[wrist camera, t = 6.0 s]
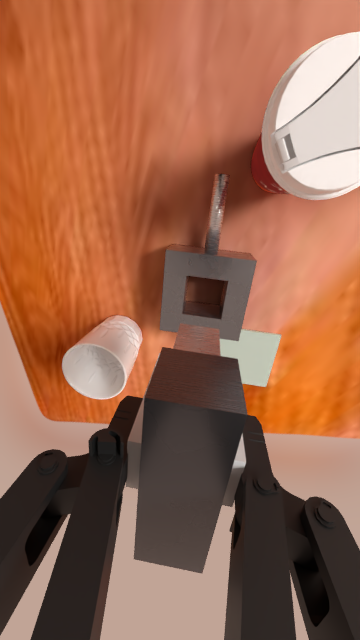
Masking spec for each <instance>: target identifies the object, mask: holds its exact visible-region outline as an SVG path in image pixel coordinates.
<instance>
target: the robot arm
mask: <svg viewBox="0 0 360 640" xmlns="http://www.w3.org/2000/svg"><path fill="white" fill-rule="evenodd" d="M159 356H160V354H159ZM159 356H158V358H159ZM157 361H158V359H157ZM156 364H157V362H156ZM156 364H155V367H156ZM155 367H154V369H155ZM153 372H154V370H153ZM152 375H153V373H152ZM152 375H151V378H152ZM151 378H150V381H151ZM150 381H149V383H150ZM148 386H149V384H148ZM148 386H147V389H148ZM147 389H146V392H147ZM146 392H145V394H146ZM145 394H144V397H145ZM144 397H143V398H139V397H133V396H127V397H125V398H124V399H123V400H122V401H121V402H120V404H119V406H118V408H117V410H116V412H115V414H114V417H113V418H112V420H111V422H110V425H109V427H108V428H107V429H102V430H99V431H97V432H96V433H95V434H93V435H92V436H91V438H90V440H89V453H87V454H85V455H80V456H73V457H67V456H66V455H65V453H64V452H62V451H60V450H54V449H52V450H48V451H45V452H43V453H41V454H39V455H38V456H37V457H35V458H34V459H33V460H32V461H31V463H30V464H29V465H28V466H27V467H26V469H25V470H24V471H23V472H22V473H21V475H20V476H19V477H18V478H17V480H16V481H15V482H14V483H13V484H12V485H11V487H10V488H9V489H8V490H7V492H6V493H5V494H4V495H3V496H2V498H1V499H0V635H1V633H2V632H3V630H4V628H5V626H6V624H7V623H8V621H9V619H10V617H11V615H12V613H13V612H14V610H15V608H16V606H17V605H18V603H19V601H20V599H21V597H22V596H23V594H24V592H25V590H26V588H27V587H28V585H29V583H30V581H31V580H32V578H33V576H34V574H35V572H36V571H37V569H38V567H39V565H40V563H41V562H42V560H43V558H44V556H45V555H46V553H47V551H48V549H49V547H50V546H51V544H52V542H53V540H54V538H55V537H56V535H57V533H58V531H59V530H60V528H61V526H62V524H63V522H64V520H65V519H66V517H67V515H68V514H71V515H70V518H69V521H68V525H67V528H66V531H65V534H64V537H63V540H62V543H61V546H60V550H59V553H58V556H57V559H56V562H55V565H54V568H53V572H52V575H51V578H50V581H49V584H48V587H47V590H46V593H45V597H44V600H43V603H42V606H41V609H40V612H39V615H38V618H37V622H36V625H35V628H34V631H33V634H32V637H31V640H100V635H101V629H102V622H103V616H104V610H105V604H106V598H107V592H108V585H109V579H110V573H111V567H112V561H113V554H114V548H115V542H116V535H117V530H118V523H119V517H120V511H121V504H122V496H123V494H122V492H123V489H124V486H125V483H126V487H131V488H136V489H138V488H139V472H140V457H141V441H142V426H143V410H144ZM234 500H235V515H234V518H233V521H232V524H231V527H230V532H232V541H231V554H230V569H229V582H228V596H227V609H226V623H225V636H224V640H296V633H295V622H294V613H293V612H294V611H293V601H292V591H291V580H290V573H291V577H292V580H293V584H294V588H295V591H296V595H297V598H298V602H299V606H300V609H301V613H302V616H303V620H304V623H305V627H306V631H307V634H308V638H309V640H360V550H359V548H358V546H357V544H356V542H355V540H354V538H353V536H352V534H351V532H350V530H349V528H348V526H347V524H346V522H345V520H344V518H343V516H342V515H341V513H340V512H339V510H338V509H337V508H336V507H335V506H334V505H333V504H331V503H330V502H328V501H326V500H325V499H323V498H319V497H310V498H309V499H308V500H306V501H304V500H302V499H300V498H298V497H296V496H294V495H292V494H291V493H289V492H287V491H286V490H284V489H283V488H282V487H281V486H280V484H279V483H278V481H277V480H276V478H275V477H274V476H273V473H272V470H271V465H270V461H269V457H268V452H267V448H266V444H265V439H264V436H263V430H262V426H261V424H260V422H259V421H258V420H257V418H256V417H255V416H250V415H247V418H246V422H245V425H244V429H243V432H242V436H241V439H240V443H239V446H238V450H237V453H236V457H235V460H234V464H233V467H232V471H231V474H230V478H229V481H228V485H227V488H226V492H225V495H224V499H223V502H222V505H225V506H230V507H232V505H233V503H234Z"/></svg>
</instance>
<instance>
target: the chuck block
mask: <svg viewBox="0 0 360 640" xmlns="http://www.w3.org/2000/svg"><path fill="white" fill-rule="evenodd" d="M229 178H230V175H226V174H215V177H214V184H213V191H212V198H211V206H210V213H209V220H208V227H207V234H206V242H205V248H201V247H193V246H185V245H177V244H172V245H171V246H169V247H168V248H167V249H166V255H165V268H164V281H163V293H162V306H161V319H160V330H164V331H171V332H178V330H179V326H180V323H182V324H188V325H195V326H202V327H209V328H216V329H219V337H220V339H226V340H233V341H239V338H240V333H241V329H242V324H243V320H244V315H245V311H246V306H247V302H248V298H249V293H250V289H251V284H252V280H253V275H254V271H255V266H256V262H257V261H256V259H255V258H254V257H253V256H252V255H251V254H250V253H242V252H234V251H226V250H218V247H219V240H220V234H221V228H222V221H223V215H224V209H225V203H226V196H227V190H228V184H229ZM189 276H194V277H201V278H209V279H217V280H225V281H224V286H223V292H222V298H221V303H220V305H215V304H207V303H200V302H193V301H186V296H187V287H188V279H189Z"/></svg>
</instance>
